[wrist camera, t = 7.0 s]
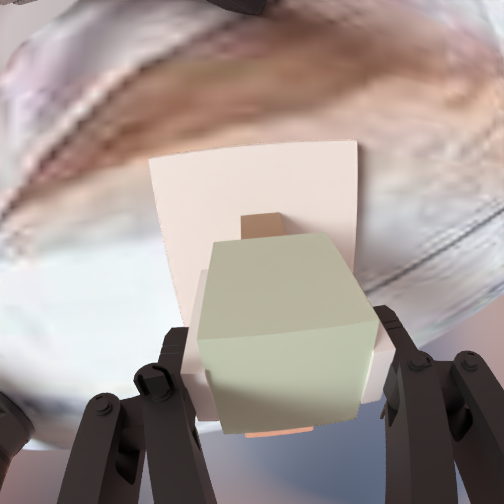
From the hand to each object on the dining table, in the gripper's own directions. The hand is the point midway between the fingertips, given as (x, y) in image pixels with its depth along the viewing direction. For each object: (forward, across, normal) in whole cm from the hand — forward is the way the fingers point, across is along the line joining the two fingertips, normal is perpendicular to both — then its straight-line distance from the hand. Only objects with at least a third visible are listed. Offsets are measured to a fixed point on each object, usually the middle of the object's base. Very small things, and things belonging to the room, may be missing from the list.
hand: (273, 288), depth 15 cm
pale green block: (0, 0, 0) cm, 0 cm away
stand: (+9, 0, -5) cm, 10 cm away
